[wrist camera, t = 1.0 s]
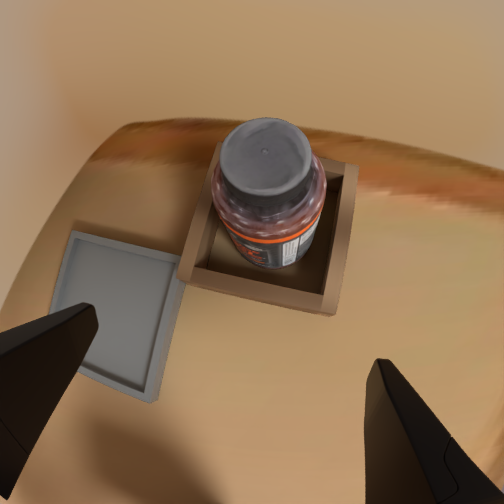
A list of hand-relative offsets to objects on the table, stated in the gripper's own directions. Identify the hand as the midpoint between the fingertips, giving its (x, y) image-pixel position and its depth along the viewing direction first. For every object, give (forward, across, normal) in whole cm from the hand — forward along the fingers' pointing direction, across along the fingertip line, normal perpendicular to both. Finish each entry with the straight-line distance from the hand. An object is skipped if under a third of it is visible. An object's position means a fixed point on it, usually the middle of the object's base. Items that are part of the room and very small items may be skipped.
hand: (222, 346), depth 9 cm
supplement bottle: (+16, 0, +2) cm, 16 cm away
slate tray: (+10, +12, +9) cm, 18 cm away
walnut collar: (+15, 0, +2) cm, 16 cm away
